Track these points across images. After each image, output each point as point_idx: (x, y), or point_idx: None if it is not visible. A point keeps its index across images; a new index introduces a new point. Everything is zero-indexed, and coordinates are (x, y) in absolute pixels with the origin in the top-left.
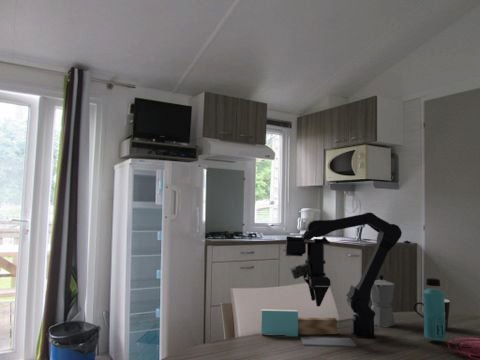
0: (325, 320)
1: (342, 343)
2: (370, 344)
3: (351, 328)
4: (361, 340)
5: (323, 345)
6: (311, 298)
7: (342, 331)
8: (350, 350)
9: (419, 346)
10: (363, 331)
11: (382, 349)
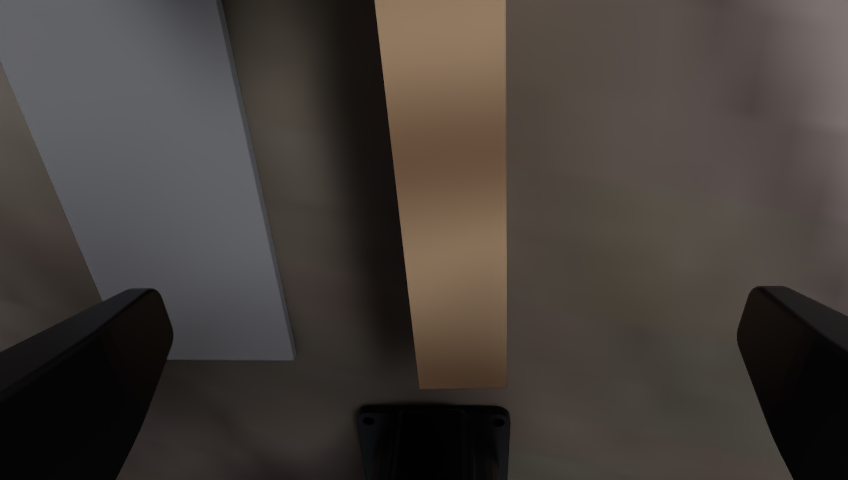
0: (408, 279)
1: (132, 282)
2: (222, 436)
3: (456, 429)
4: (300, 413)
5: (31, 120)
6: (778, 304)
7: (529, 353)
8: (26, 299)
9: None
10: (369, 476)
11: (141, 464)
